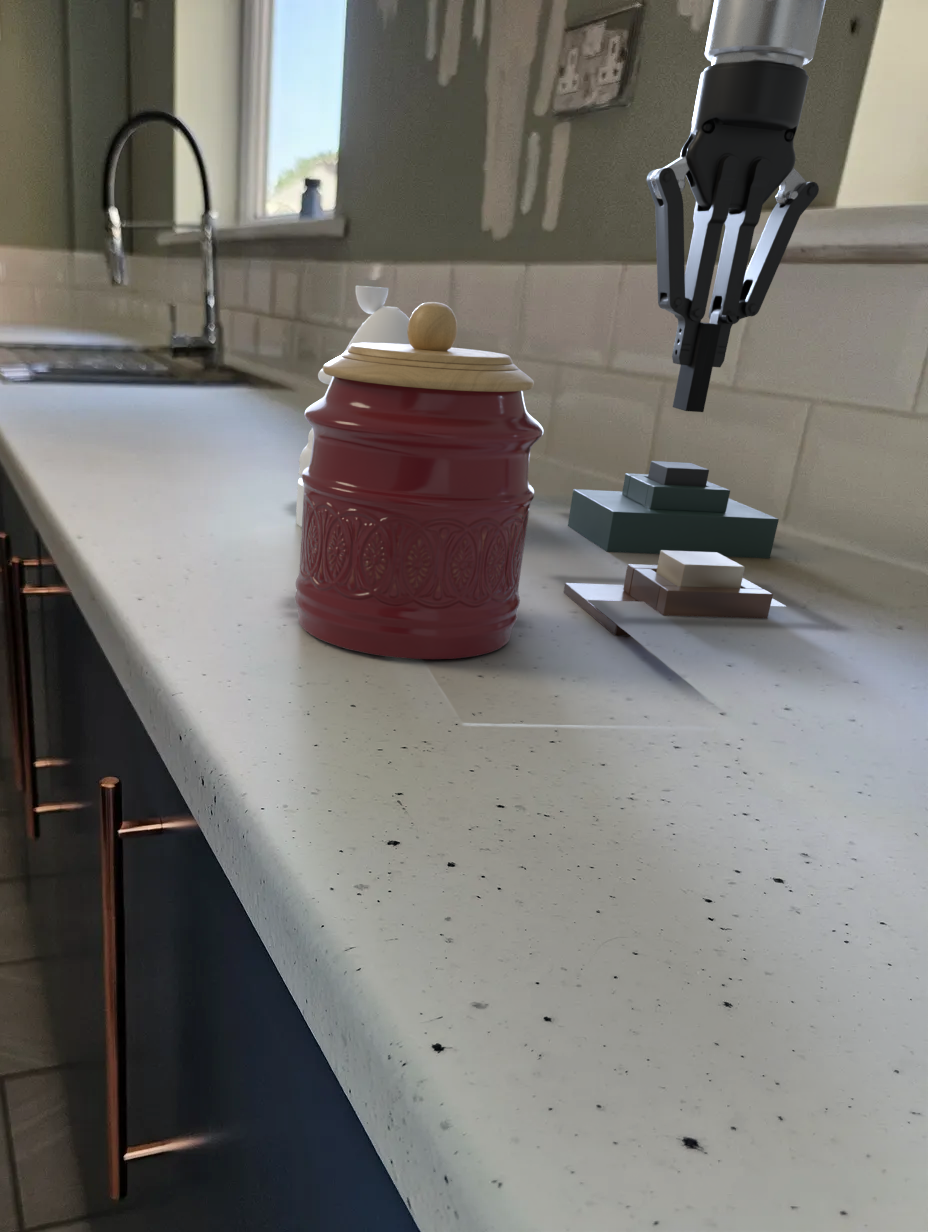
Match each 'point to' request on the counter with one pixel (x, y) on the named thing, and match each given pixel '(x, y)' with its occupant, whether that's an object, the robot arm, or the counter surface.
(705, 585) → the ivory key
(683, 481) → the ebony key
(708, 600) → the stepped block pedestal
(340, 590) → the kitchen canister
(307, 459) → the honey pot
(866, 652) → the counter surface
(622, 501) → the tiered step pyramid
